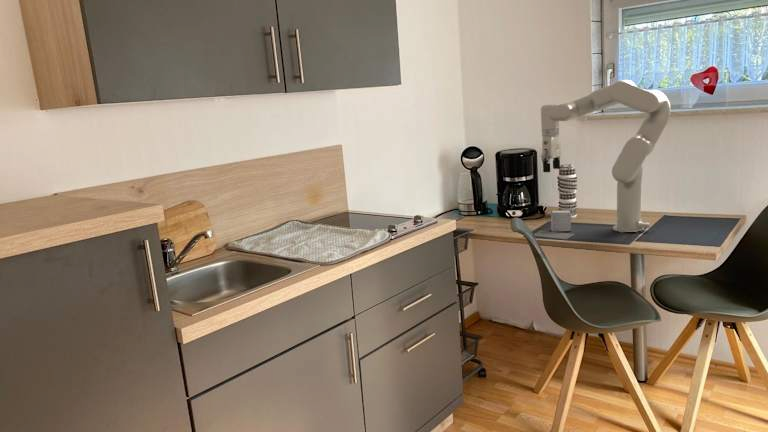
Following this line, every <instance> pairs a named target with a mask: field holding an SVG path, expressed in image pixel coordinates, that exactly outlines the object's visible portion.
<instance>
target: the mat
mask: <svg viewBox="0 0 768 432" xmlns="http://www.w3.org/2000/svg"><path fill="white" fill-rule="evenodd" d="M533 234H534V236H533V237H538V238H547V239H555V240H564V241H565V240H568V239H571V238H573V237H574V236H575V235H576V234H575V233H568V232H561V231H560V232H553V231H549V230H538V231H536V232H535V233H533Z"/></svg>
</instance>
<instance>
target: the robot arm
mask: <svg viewBox="0 0 768 432" xmlns="http://www.w3.org/2000/svg"><path fill="white" fill-rule="evenodd" d="M618 104H620V105H623V106H626V107H628V108H629V109H630V108H631V109H634V110H635V111H638V112H640V113H645V114H646V117H645V118H644V120H643V121H642V123H641V125H640V127H639V129H638V130H637V132H636V134H634V136H632V137H630V138H629V139H628V140H627V141H626V142H625V144H624V145H623V147H622V148H621V149H622V150H621V151H620V153H619V154H618V156H617V158H616V160H615V162H614V164H613V166H612V167H611V168H612V169H611V174H612V177H613V179H614V180H615V181H616V182H617V184H616V224H614V225H613V226H612V230H613V231H614V232H617V231H618V233H623V232H636V233H638V232H637V231H641V232H643V231H645V228H647V229H650V228H651V225H652V223H651V222H646V221H644V219H643V218H641V215H642V214H641V213H642V212H641V211H642V210H641V209H642V208H641V205H642V180H643V179H642V178H643V163H644V162H645V160H646V158H647V157H648V156H649V155H651V153H652V152H653V150H654V148H655V146H656V144H657V142H658V141H659V139H660V137H661V135H662V133H663V131H664V130H665V128H666V126H667V124H668V122H669V119H670V116H671V103H670V100H669V99H668V98H667V96H666V94H664V93H663V92H662V91H660V90H658V89H651V90H647V89H644V88H642V87H639V86H636V84H635V82H634V81H632V80H630V79H622V80H618V81H616V82H614V83H612V84H609V85H607V86H604V87H601V88H598V89H597V90H593V91H592V92H590V93H589V94H588V95H585V96H584V97H580V98H579V99H576V100H573V101H570V102H566V103H563V104H562V103H561V104H545V105H542V106H541V108H540V118H541V119H540V120H541V121H540V122H541V125H540V126H541V137H542V139H541V140H542V141H541V145H542V146H541V155H540V157H541V161H542V172H543V173H551V163H550V162H551V159H552V168H553V170H559V169H560V166H561V156H562V147H561V146H562V145H561V137H560V122H567V121H571V120H575V119H576V118H579V117H583V116H585V115H588V114H591V113H594V112H598V111H602V110H604V109H607V108H610V107H614V106H615V105H618ZM642 230H643V231H642Z"/></svg>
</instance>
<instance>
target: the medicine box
mask: <svg viewBox="0 0 768 432" xmlns="http://www.w3.org/2000/svg"><path fill="white" fill-rule="evenodd" d="M571 221H572V218H571V212H570V211H559V210H551V211H550V230H551V232H560V233H561V232H571V230H572V229H571V228H572V227H571V226H572V224H571V223H572V222H571Z"/></svg>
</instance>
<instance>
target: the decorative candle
mask: <svg viewBox="0 0 768 432" xmlns="http://www.w3.org/2000/svg"><path fill="white" fill-rule="evenodd" d="M556 179H557V187H558V188H557V191H558V195H559V196H558V197H559V198H558V204H559V205H558V207H559V208H558V209H557V211H570V212H571V219H572V218H576V217H577V212H578V211H577V210H578V209H577V203H578V202H577V198H576V195H577V188H578V187H577V186H578V185H577V182H578V177H577V176H576V167H575V166H574V165H573V164H571V163H570V164H569V163H566V164H560V169H558V176H557V177H556Z"/></svg>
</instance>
